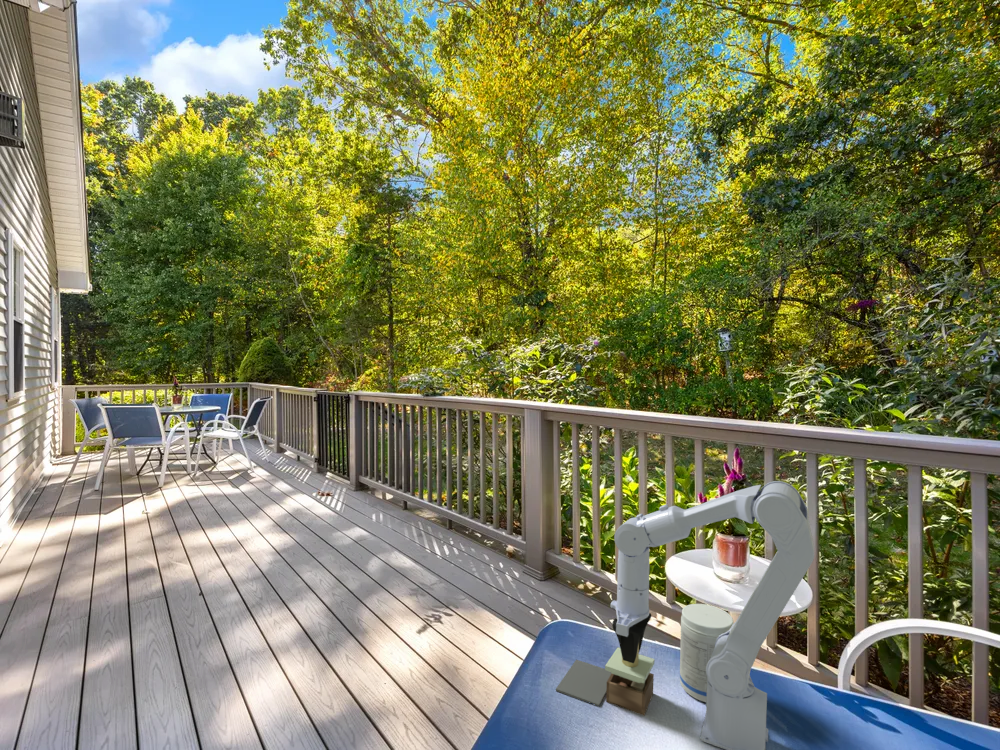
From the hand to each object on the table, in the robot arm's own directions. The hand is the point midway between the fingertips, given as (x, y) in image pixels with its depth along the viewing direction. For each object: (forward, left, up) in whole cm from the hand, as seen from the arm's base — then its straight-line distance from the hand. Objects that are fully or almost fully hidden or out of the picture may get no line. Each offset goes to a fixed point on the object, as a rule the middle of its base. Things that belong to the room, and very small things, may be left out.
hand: (631, 655), depth 93 cm
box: (0, 0, -8) cm, 8 cm away
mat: (+9, 0, -8) cm, 12 cm away
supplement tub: (-12, -10, -8) cm, 18 cm away
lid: (0, 0, -3) cm, 3 cm away
